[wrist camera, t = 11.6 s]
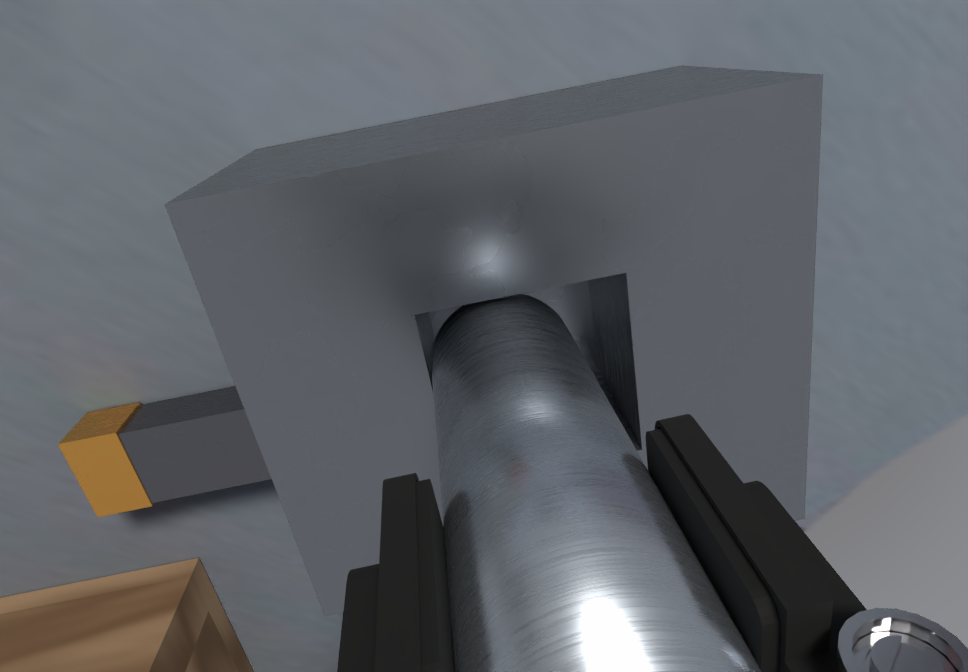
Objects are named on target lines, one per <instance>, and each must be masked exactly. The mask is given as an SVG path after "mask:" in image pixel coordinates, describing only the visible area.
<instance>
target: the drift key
mask: <svg viewBox="0 0 968 672" xmlns="http://www.w3.org/2000/svg"><path fill="white" fill-rule="evenodd" d="M58 446H59V447H60V449H61V451H62V453H63V455H64V457H65V458H66V460H67V462H68V464H69V466H70V467H71V469H72V471H73V473H74V475H75V477H76V478H77V480H78V482H79V484H80V486H81V488H82V489H83V491H84V493H85V495H86V497H87V499H88V500H89V502H90V504H91V506H92V508H93V510H94V511H95V513H96V515H97V517H101V516H106V515H111V514H116V513H121V512H126V511H131V510H136V509H141V508H146V507H151V506H153V504H154V503H155V502H160V501H165V500H170V499H175V498H180V497H185V496H190V495H195V494H200V493H205V492H210V491H215V490H220V489H225V488H230V487H235V486H240V485H245V484H250V483H255V482H260V481H265V480H270V479H271V476H270V473H269V471H268V468H267V466H266V463H265V461H264V458H263V456H262V453H261V450H260V448H259V445H258V443H257V440H256V438H255V435H254V432H253V430H252V427H251V425H250V422H249V420H248V417H247V415H246V412H245V409H244V407H243V404H242V402H241V399H240V397H239V394H238V391H237V389H236V386H234V387H229V388H224V389H219V390H214V391H208V392H203V393H198V394H193V395H188V396H183V397H178V398H173V399H168V400H163V401H158V402H153V403H148V404H143V405H141V403H140V402H138V403H133V404H128V405H123V406H118V407H113V408H108V409H103V410H98V411H93V412H88V413H86V414H85V415H84V417H83V418H82V419H81V420H80V421H79V422H78V423H77V424H76V425H75V426H74V427H73V428H72V430H71V431H70V432H69V433H68V434H67V435H66V436H65V437H64V438H63V439H62V440H61V441H60V443H59V444H58Z"/></svg>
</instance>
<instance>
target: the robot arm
mask: <svg viewBox="0 0 968 672" xmlns="http://www.w3.org/2000/svg"><path fill="white" fill-rule="evenodd" d="M646 451H647V464H648V471H649V473H650V475H651V477H652V479H653V480H654V482H655V484H656V486H657V487H658V489H659V491H660V493H661V494H662V496H663V498H664V500H665V502H666V503H667V505H668V507H669V509H670V510H671V512H672V514H673V516H674V518H675V519H676V521H677V523H678V525H679V526H680V528H681V530H682V532H683V533H684V535H685V537H686V539H687V541H688V542H689V544H690V546H691V548H692V549H693V551H694V553H695V555H696V556H697V558H698V560H699V562H700V564H701V565H702V567H703V569H704V571H705V572H706V574H707V576H708V578H709V579H710V581H711V583H712V585H713V587H714V588H715V590H716V592H717V594H718V595H719V597H720V599H721V601H722V602H723V604H724V606H725V608H726V610H727V611H728V613H729V615H730V617H731V618H732V620H733V622H734V624H735V626H736V627H737V629H738V631H739V633H740V634H741V636H742V638H743V640H744V641H745V643H746V645H747V647H748V649H749V650H750V652H751V654H752V656H753V657H754V659H755V661H756V663H757V664H758V666H759V668H760V670H761V672H968V648H967V647H966V646H965V645H964V644H963V643H962V642H961V641H960V640H959V639H958V637H956V636H955V635H954V634H952V633H951V632H949V631H948V630H946V629H945V628H944V627H942V626H941V625H939V624H938V623H936V622H934V621H931V620H929V619H927V618H925V617H923V616H920V615H918V614H915V613H911V612H907V611H903V610H899V609H888V608H874V609H870V610H866V608H865V607H864V606H863V605H862V603H861V602H860V601H859V600H858V598H857V597H856V596H855V595H854V594H853V592H852V591H851V590H850V589H849V587H848V586H847V585H846V584H845V582H844V581H843V580H842V579H841V578H840V576H839V575H838V574H837V573H836V571H835V570H834V569H833V568H832V566H831V565H830V564H829V563H828V562H827V561H826V559H825V558H824V557H823V555H822V554H821V553H820V552H819V550H818V549H817V548H816V547H815V545H814V544H813V543H812V542H811V540H810V539H809V538H808V537H807V535H806V534H805V533H804V532H803V531H802V529H801V528H800V527H799V526H798V524H797V523H796V522H795V521H794V519H793V518H792V517H791V516H790V514H789V513H788V512H787V511H786V510H785V508H784V507H783V506H782V505H781V503H780V502H779V501H778V500H777V498H776V497H775V496H774V495H773V493H772V492H771V491H770V490H769V489H768V488H767V487H766V486H765V485H764V484H763V483H762V482H759V481H752V482H748V483H743V482H742V481H741V479H740V478H739V477H738V475H737V474H736V473H735V471H734V470H733V469H732V468H731V466H730V465H729V464H728V462H727V461H726V460H725V458H724V457H723V456H722V454H721V453H720V452H719V450H718V449H717V448H716V447H715V445H714V444H713V443H712V441H711V440H710V439H709V437H708V436H707V435H706V433H705V432H704V431H703V430H702V428H701V427H700V426H699V424H698V423H697V422H696V420H695V419H694V418H693V417H692V416H691V415H690V414H685V415H680V416H676V417H671V418H666V419H662V420H657V421H656V422H655V430H652V431H647V432H646ZM337 672H455V670H454V657H453V644H452V631H451V619H450V606H449V593H448V580H447V567H446V554H445V541H444V528H443V524H442V520H441V516H440V513H439V509H438V505H437V501H436V498H435V494H434V490H433V486H432V483H431V480H430V479H426V480H421V481H419V479H418V476H417V474H416V473H412V474H407V475H403V476H398V477H394V478H389V479H384V481H383V487H382V510H381V533H380V556H379V564H375V565H370V566H366V567H361V568H357V569H352V570H350V571H349V573H348V577H347V582H346V592H345V601H344V611H343V621H342V631H341V641H340V650H339V660H338V670H337Z"/></svg>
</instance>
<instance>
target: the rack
mask: <svg viewBox="0 0 968 672" xmlns="http://www.w3.org/2000/svg"><path fill="white" fill-rule="evenodd" d="M0 672H253V670H252V668H251V665H250V663H249V661H248V659H247V657H246V655H245V653H244V651H243V649H242V647H241V645H240V642H239V640H238V638H237V636H236V634H235V632H234V630H233V628H232V626H231V624H230V622H229V620H228V617H227V615H226V613H225V611H224V609H223V607H222V605H221V603H220V601H219V599H218V597H217V594H216V592H215V590H214V588H213V586H212V584H211V582H210V580H209V578H208V576H207V574H206V572H205V569H204V567H203V565H202V563H201V561H200V559H199V558H196V559H191V560H186V561H181V562H176V563H171V564H166V565H161V566H156V567H151V568H146V569H141V570H136V571H131V572H126V573H121V574H116V575H111V576H106V577H101V578H96V579H91V580H86V581H81V582H77V583H72V584H67V585H62V586H57V587H52V588H47V589H42V590H37V591H32V592H27V593H22V594H17V595H12V596H7V597H2V598H0Z"/></svg>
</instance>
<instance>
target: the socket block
mask: <svg viewBox="0 0 968 672" xmlns="http://www.w3.org/2000/svg"><path fill="white" fill-rule="evenodd" d="M822 86H823V75H820V74H804V73H789V72H773V71H757V70H741V69H726V68H710V67H694V66H678V67H673V68H668V69H663V70H658V71H653V72H648V73H643V74H638V75H633V76H628V77H623V78H617V79H612V80H607V81H602V82H597V83H592V84H587V85H582V86H577V87H572V88H567V89H562V90H556V91H551V92H546V93H541V94H536V95H531V96H526V97H521V98H516V99H511V100H506V101H501V102H495V103H490V104H485V105H480V106H475V107H470V108H465V109H460V110H455V111H450V112H445V113H440V114H434V115H429V116H424V117H419V118H414V119H409V120H404V121H399V122H394V123H389V124H384V125H379V126H373V127H368V128H363V129H358V130H353V131H348V132H343V133H338V134H333V135H328V136H323V137H318V138H312V139H307V140H302V141H297V142H292V143H287V144H282V145H277V146H272V147H267V148H262V149H256V150H254V151H252V152H251V153H249V154H248V155H246V156H244V157H243V158H241V159H239V160H238V161H236V162H234V163H233V164H231V165H229V166H228V167H226V168H224V169H223V170H221V171H219V172H218V173H216V174H214V175H213V176H211V177H209V178H208V179H206V180H204V181H203V182H201V183H199V184H198V185H196V186H194V187H193V188H191V189H189V190H188V191H186V192H184V193H183V194H181V195H179V196H178V197H176V198H174V199H173V200H171V201H169V202H168V203H166V204H165V207H166V209H167V212H168V214H169V217H170V220H171V222H172V225H173V227H174V230H175V232H176V235H177V238H178V240H179V243H180V245H181V248H182V250H183V253H184V256H185V258H186V261H187V263H188V266H189V268H190V271H191V273H192V276H193V279H194V281H195V284H196V286H197V289H198V291H199V294H200V297H201V299H202V302H203V304H204V307H205V309H206V312H207V314H208V317H209V320H210V322H211V325H212V327H213V330H214V332H215V335H216V338H217V340H218V343H219V345H220V348H221V350H222V353H223V356H224V358H225V361H226V363H227V366H228V368H229V371H230V373H231V376H232V379H233V381H234V384H235V386H236V389H237V391H238V394H239V397H240V399H241V402H242V404H243V407H244V409H245V412H246V415H247V417H248V420H249V422H250V425H251V427H252V430H253V432H254V435H255V438H256V440H257V443H258V445H259V448H260V450H261V453H262V456H263V458H264V461H265V463H266V466H267V468H268V471H269V473H270V476H271V479H272V481H273V484H274V486H275V489H276V491H277V494H278V497H279V499H280V502H281V504H282V507H283V509H284V512H285V515H286V517H287V520H288V522H289V525H290V527H291V530H292V532H293V535H294V538H295V540H296V543H297V545H298V548H299V550H300V553H301V556H302V558H303V561H304V563H305V566H306V568H307V571H308V574H309V576H310V579H311V581H312V584H313V586H314V589H315V591H316V594H317V597H318V599H319V602H320V604H321V607H322V609H323V612H324V615H325V616H326V615H331V614H336V613H341V612H343V611H344V601H345V592H346V582H347V577H348V573H349V571H350V570H352V569H357V568H361V567H366V566H370V565H375V564H379V556H380V533H381V510H382V487H383V481H384V479H389V478H394V477H398V476H403V475H407V474H412V473H416V474H417V476H418V479H419V481H421V480H426V479H430V480H431V483H432V486H433V490H434V494H435V498H436V501H437V505H438V509H439V513H440V516H441V520H442V524H443V515H442V502H441V489H440V476H439V462H438V449H437V436H436V423H435V410H434V397H433V384H432V371H431V353H432V347H433V344H434V340H435V338H436V335H437V333H438V331H439V329H440V328H441V326H442V325H443V323H444V322H445V321H446V320H447V318H448V317H449V316H450V315H451V314H452V313H453V312H454V311H456V310H457V309H458V308H459V307H461V306H462V305H466V304H471V303H476V302H482V301H487V300H492V299H497V298H502V297H507V296H512V295H517V294H525V295H529V296H532V297H534V298H537V299H539V300H541V301H542V302H544V303H546V304H547V305H549V306H550V307H551V308H552V309H554V310H555V311H556V313H557V314H558V315H559V316H560V317H561V318H562V320H563V321H564V323H565V324H566V326H567V328H568V330H569V332H570V333H571V335H572V337H573V339H574V340H575V342H576V344H577V346H578V348H579V349H580V351H581V353H582V355H583V356H584V358H585V360H586V362H587V363H588V365H589V367H590V369H591V371H592V372H593V374H594V376H595V378H596V379H597V381H598V383H599V385H600V386H601V388H602V390H603V392H604V394H605V395H606V397H607V399H608V401H609V402H610V404H611V406H612V408H613V409H614V411H615V413H616V415H617V417H618V418H619V420H620V422H621V424H622V425H623V427H624V429H625V431H626V433H627V434H628V436H629V438H630V440H631V441H632V443H633V445H634V447H635V448H636V450H637V452H638V454H639V456H640V457H641V459H642V461H643V463H644V464H645V466H646V468H647V470H648V464H647V451H646V432H647V431H652V430H655V422H656V421H657V420H662V419H666V418H671V417H676V416H680V415H685V414H690V415H691V416H692V417H693V418H694V419H695V420H696V422H697V423H698V424H699V426H700V427H701V428H702V430H703V431H704V432H705V433H706V435H707V436H708V437H709V439H710V440H711V441H712V443H713V444H714V445H715V447H716V448H717V449H718V450H719V452H720V453H721V454H722V456H723V457H724V458H725V460H726V461H727V462H728V464H729V465H730V466H731V468H732V469H733V470H734V471H735V473H736V474H737V475H738V477H739V478H740V479H741V481H742V482H743V483H748V482H752V481H759V482H762V483H763V484H764V485H765V486H766V487H767V488H768V489H769V490H770V491H771V492H772V493H773V495H774V496H775V497H776V498H777V500H778V501H779V502H780V503H781V505H782V506H783V507H784V508H785V510H786V511H787V512H788V513H789V514H790V516H791V517H792V518H793V519H794V521H796V520H801V519H805V496H806V472H807V448H808V424H809V399H810V375H811V351H812V327H813V303H814V279H815V255H816V231H817V207H818V183H819V159H820V134H821V110H822Z"/></svg>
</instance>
